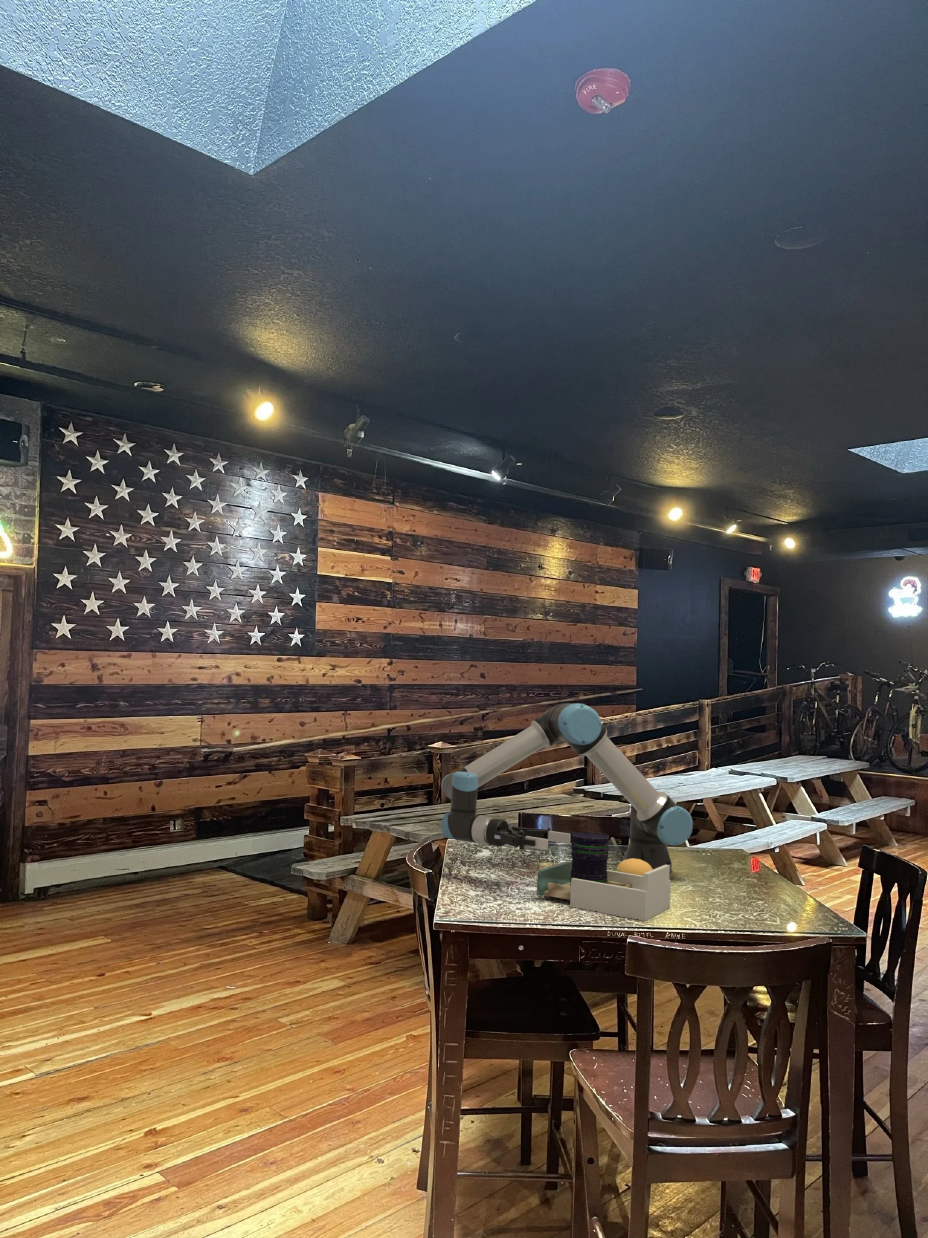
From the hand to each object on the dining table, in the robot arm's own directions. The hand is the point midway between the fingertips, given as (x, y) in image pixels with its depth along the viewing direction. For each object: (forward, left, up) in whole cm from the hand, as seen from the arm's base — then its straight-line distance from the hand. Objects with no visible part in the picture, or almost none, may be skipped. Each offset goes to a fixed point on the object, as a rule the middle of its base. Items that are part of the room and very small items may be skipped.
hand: (559, 841), depth 235 cm
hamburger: (-25, -6, -14) cm, 29 cm away
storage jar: (-6, +6, -12) cm, 15 cm away
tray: (-6, +6, -13) cm, 15 cm away
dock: (-13, +13, -14) cm, 23 cm away
